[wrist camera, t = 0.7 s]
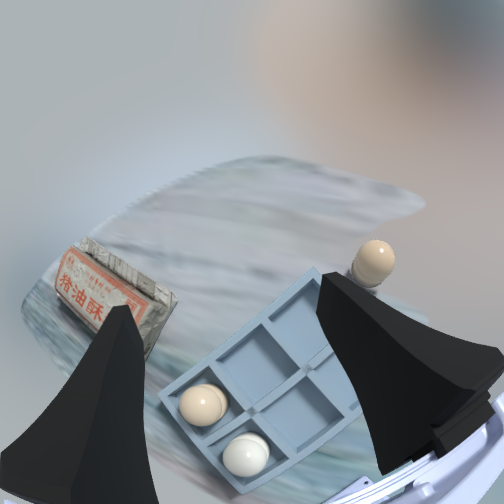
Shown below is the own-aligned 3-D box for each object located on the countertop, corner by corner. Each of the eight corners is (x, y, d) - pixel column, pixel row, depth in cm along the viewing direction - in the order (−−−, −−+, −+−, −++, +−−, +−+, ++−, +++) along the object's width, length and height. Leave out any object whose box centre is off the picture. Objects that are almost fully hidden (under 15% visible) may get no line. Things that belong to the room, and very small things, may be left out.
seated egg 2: (278, 451, 23) (274, 469, 18) (247, 470, 22) (237, 490, 18) (253, 423, 24) (243, 437, 19) (223, 443, 24) (208, 459, 19)
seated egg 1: (238, 405, 25) (225, 415, 20) (208, 426, 25) (190, 438, 20) (213, 375, 26) (196, 378, 22) (184, 396, 26) (163, 402, 21)
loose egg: (393, 270, 28) (408, 254, 23) (369, 295, 28) (382, 283, 23) (368, 244, 30) (378, 225, 25) (343, 268, 29) (351, 252, 25)
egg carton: (397, 367, 24) (407, 368, 22) (247, 483, 22) (242, 495, 20) (312, 275, 29) (313, 266, 27) (169, 391, 27) (156, 393, 25)
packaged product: (164, 287, 27) (120, 371, 25) (183, 297, 31) (144, 370, 29) (71, 225, 32) (38, 288, 30) (91, 238, 37) (61, 296, 34)
